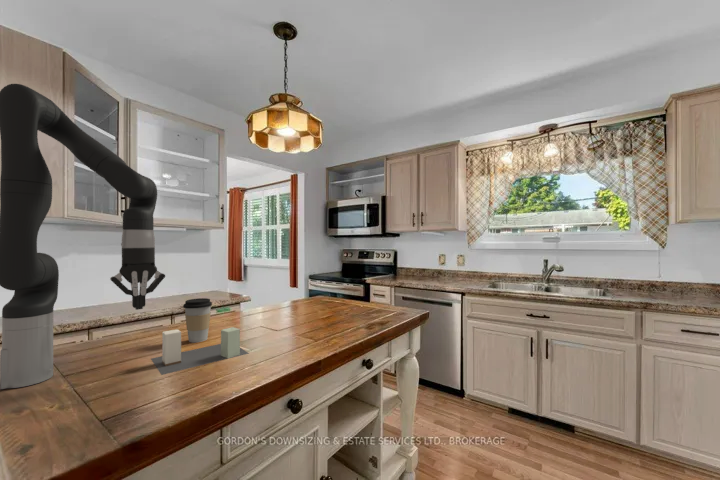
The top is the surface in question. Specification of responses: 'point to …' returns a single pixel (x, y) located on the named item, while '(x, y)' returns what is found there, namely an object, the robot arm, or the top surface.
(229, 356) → the sage block
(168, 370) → the mat
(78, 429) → the top surface
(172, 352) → the cream block
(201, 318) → the coffee cup
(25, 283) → the robot arm
